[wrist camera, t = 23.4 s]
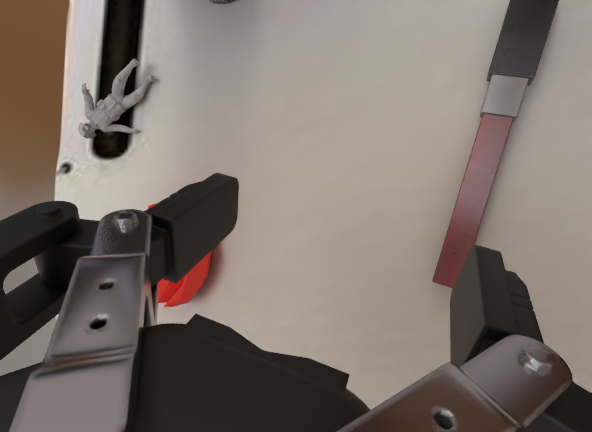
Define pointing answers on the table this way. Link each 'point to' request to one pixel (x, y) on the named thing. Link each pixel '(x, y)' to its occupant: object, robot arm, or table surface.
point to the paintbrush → (495, 124)
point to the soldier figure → (112, 105)
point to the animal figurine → (184, 284)
